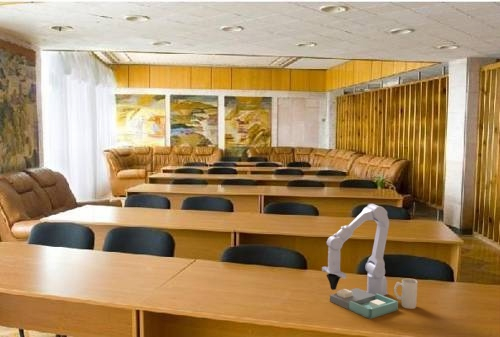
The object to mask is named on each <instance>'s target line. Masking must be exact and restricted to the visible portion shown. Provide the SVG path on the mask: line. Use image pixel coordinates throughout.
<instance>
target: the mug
mask: <svg viewBox="0 0 500 337" xmlns="http://www.w3.org/2000/svg"><path fill="white" fill-rule="evenodd" d="M399 286H401V295H399V294H398V292H397V288H398V287H399ZM393 291H394V292H393V293H394V295H395V297H396V299H397V300H400V301H401V307H403V308H405V309H408V310H412V309H416V308H417V297H418V296H417V295H418V280H417V279H414V278H407V277H406V278H402V279H401V282H400V281H396V283H395V285H394V287H393Z"/></svg>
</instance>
